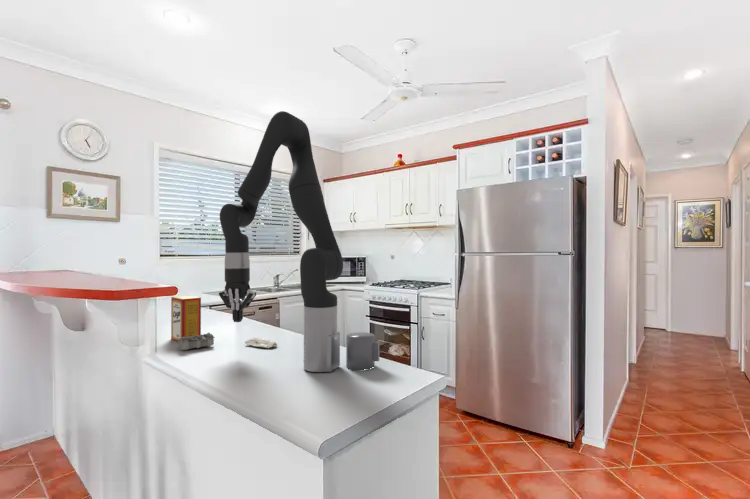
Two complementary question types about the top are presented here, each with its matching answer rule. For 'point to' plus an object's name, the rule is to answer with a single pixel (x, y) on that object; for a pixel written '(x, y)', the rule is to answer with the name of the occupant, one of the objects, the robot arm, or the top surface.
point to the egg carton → (196, 341)
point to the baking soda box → (185, 316)
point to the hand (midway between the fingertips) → (237, 321)
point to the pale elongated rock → (261, 342)
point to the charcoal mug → (361, 351)
